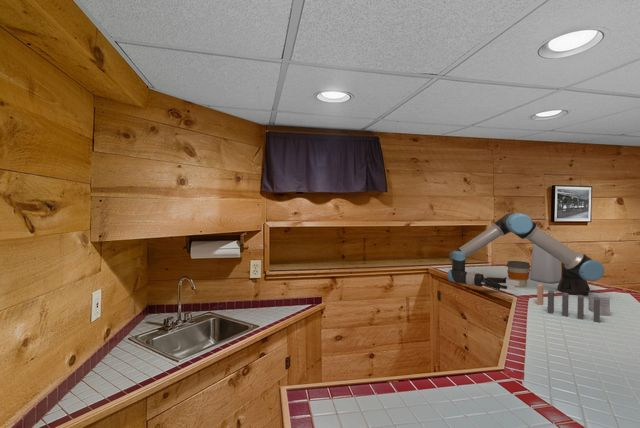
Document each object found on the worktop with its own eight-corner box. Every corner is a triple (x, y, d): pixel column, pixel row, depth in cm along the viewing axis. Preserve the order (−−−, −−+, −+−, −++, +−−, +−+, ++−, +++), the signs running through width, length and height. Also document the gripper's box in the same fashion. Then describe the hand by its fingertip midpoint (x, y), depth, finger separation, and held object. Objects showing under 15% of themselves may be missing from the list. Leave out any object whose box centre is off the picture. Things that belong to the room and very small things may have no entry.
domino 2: (562, 315, 143) (562, 294, 142) (562, 312, 146) (563, 292, 146) (567, 316, 141) (567, 295, 141) (568, 313, 145) (568, 293, 145)
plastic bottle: (527, 279, 213) (527, 239, 212) (540, 277, 219) (540, 238, 218) (550, 284, 199) (550, 241, 199) (564, 281, 205) (564, 240, 205)
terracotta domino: (537, 304, 159) (537, 285, 159) (538, 302, 163) (538, 283, 162) (542, 305, 158) (542, 286, 157) (543, 303, 161) (543, 284, 161)
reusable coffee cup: (507, 282, 205) (507, 260, 205) (530, 284, 198) (530, 262, 198) (506, 286, 195) (506, 263, 195) (529, 289, 188) (529, 265, 188)
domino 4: (593, 321, 135) (593, 299, 135) (593, 318, 139) (593, 296, 139) (599, 322, 134) (599, 300, 134) (599, 319, 138) (599, 297, 137)
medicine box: (610, 315, 142) (610, 297, 142) (599, 315, 143) (599, 297, 143) (598, 310, 150) (598, 292, 150) (588, 309, 151) (588, 292, 151)
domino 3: (577, 318, 139) (577, 297, 139) (577, 315, 143) (578, 294, 142) (583, 319, 138) (583, 297, 137) (583, 316, 141) (583, 295, 141)
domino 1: (547, 313, 146) (547, 292, 146) (548, 310, 150) (549, 290, 150) (552, 314, 145) (553, 293, 145) (553, 311, 149) (554, 291, 148)
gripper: (481, 281, 191) (521, 288, 176) (468, 289, 172) (512, 297, 158) (481, 269, 190) (521, 275, 176) (468, 276, 172) (512, 283, 158)
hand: (517, 285), depth 167 cm, fingers open, 13 cm apart
